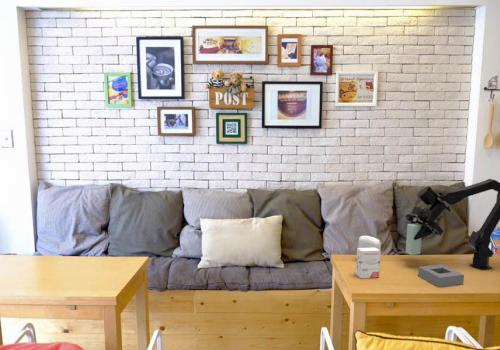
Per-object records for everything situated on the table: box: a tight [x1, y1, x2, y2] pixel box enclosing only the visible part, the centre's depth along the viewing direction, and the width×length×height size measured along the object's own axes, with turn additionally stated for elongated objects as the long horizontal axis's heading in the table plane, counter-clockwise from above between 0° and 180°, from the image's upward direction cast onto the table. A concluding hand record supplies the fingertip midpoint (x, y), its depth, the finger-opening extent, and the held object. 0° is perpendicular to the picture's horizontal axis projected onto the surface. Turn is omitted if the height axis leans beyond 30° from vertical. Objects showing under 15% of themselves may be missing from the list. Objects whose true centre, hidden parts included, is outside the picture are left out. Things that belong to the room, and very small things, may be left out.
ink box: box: [355, 247, 381, 279], centre depth 171 cm, size 9×5×12 cm, turn 98°
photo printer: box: [357, 235, 382, 251], centre depth 187 cm, size 10×4×12 cm, turn 45°
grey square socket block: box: [417, 263, 465, 288], centre depth 169 cm, size 12×12×4 cm
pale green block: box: [405, 223, 422, 256], centre depth 181 cm, size 5×4×13 cm
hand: (411, 238), depth 181 cm, fingers closed on pale green block, 3 cm apart
